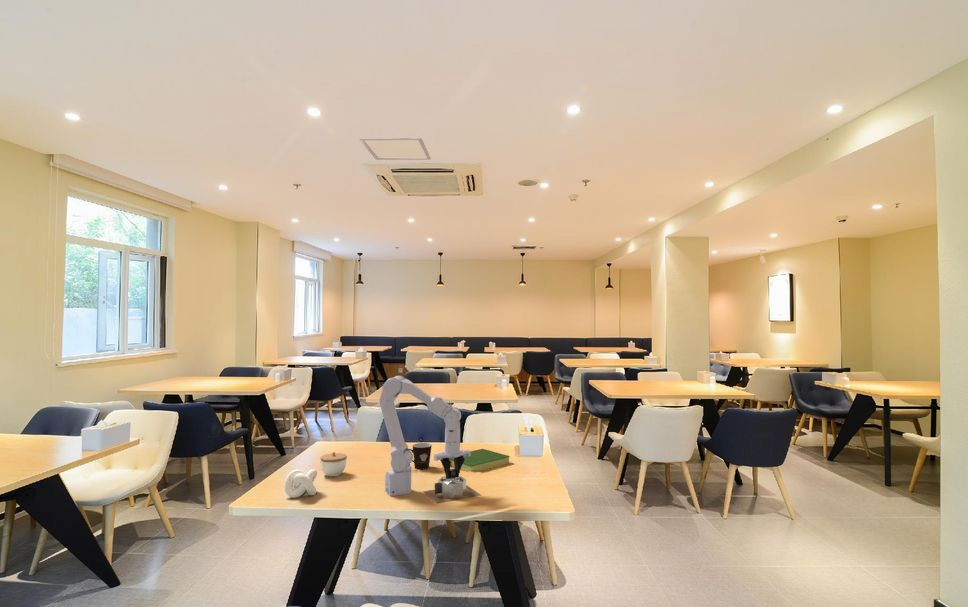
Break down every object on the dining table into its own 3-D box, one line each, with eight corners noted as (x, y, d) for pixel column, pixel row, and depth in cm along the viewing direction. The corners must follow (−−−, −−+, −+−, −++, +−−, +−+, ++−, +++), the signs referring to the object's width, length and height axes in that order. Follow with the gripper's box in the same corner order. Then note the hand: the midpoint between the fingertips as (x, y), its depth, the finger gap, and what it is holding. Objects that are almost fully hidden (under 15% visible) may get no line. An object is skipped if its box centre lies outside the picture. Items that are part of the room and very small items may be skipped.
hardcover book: (482, 456, 235) (482, 448, 235) (509, 464, 222) (509, 456, 222) (442, 465, 218) (443, 457, 218) (469, 475, 205) (469, 466, 205)
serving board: (437, 505, 167) (437, 503, 167) (422, 493, 179) (422, 491, 179) (481, 497, 176) (482, 495, 176) (465, 486, 188) (465, 484, 188)
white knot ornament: (282, 502, 170) (282, 476, 170) (286, 491, 181) (286, 467, 182) (315, 499, 173) (316, 474, 173) (317, 488, 184) (317, 465, 185)
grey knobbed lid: (447, 487, 173) (447, 473, 173) (439, 481, 179) (439, 468, 180) (465, 484, 176) (465, 471, 177) (456, 479, 183) (456, 466, 183)
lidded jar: (319, 479, 196) (319, 456, 196) (321, 471, 206) (321, 450, 207) (346, 477, 199) (346, 454, 199) (346, 470, 209) (347, 448, 209)
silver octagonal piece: (440, 500, 170) (440, 486, 170) (430, 492, 179) (430, 478, 179) (469, 495, 176) (469, 481, 176) (458, 487, 184) (458, 474, 185)
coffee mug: (433, 465, 217) (433, 443, 218) (429, 470, 209) (429, 447, 209) (408, 464, 218) (408, 442, 219) (403, 469, 210) (403, 446, 210)
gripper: (439, 445, 172) (438, 483, 171) (474, 441, 179) (474, 477, 178) (431, 441, 178) (431, 478, 177) (466, 437, 185) (465, 472, 184)
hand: (452, 477), depth 178 cm, fingers closed on grey knobbed lid, 3 cm apart
